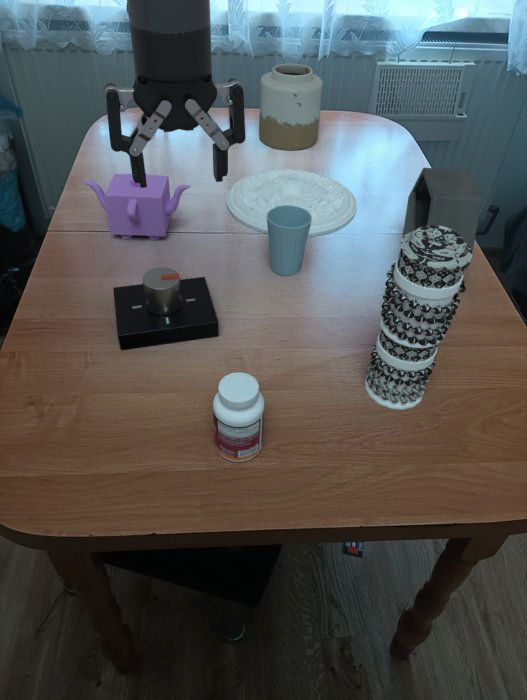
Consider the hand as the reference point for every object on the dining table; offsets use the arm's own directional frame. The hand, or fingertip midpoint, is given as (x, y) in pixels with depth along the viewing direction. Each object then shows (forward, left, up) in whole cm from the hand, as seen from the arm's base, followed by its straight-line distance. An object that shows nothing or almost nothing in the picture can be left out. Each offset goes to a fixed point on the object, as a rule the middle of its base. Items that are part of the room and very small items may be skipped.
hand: (181, 181), depth 61 cm
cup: (+20, +20, -28) cm, 40 cm away
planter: (+45, +14, -28) cm, 55 cm away
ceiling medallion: (+28, +43, -28) cm, 58 cm away
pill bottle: (+3, -17, -28) cm, 33 cm away
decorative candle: (+27, -12, -28) cm, 41 cm away
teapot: (-4, +38, -28) cm, 47 cm away
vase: (+37, +76, -28) cm, 89 cm away
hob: (-3, +10, -28) cm, 30 cm away
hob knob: (-3, +10, -25) cm, 27 cm away
